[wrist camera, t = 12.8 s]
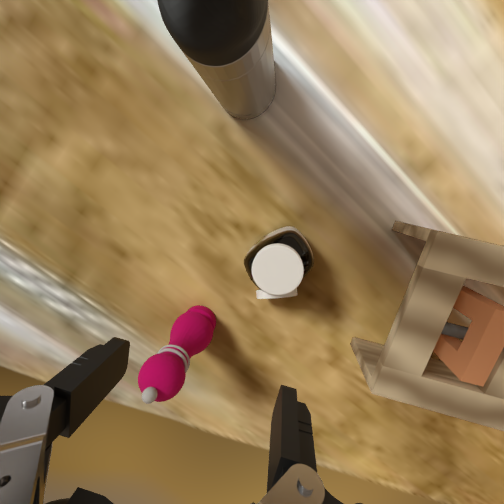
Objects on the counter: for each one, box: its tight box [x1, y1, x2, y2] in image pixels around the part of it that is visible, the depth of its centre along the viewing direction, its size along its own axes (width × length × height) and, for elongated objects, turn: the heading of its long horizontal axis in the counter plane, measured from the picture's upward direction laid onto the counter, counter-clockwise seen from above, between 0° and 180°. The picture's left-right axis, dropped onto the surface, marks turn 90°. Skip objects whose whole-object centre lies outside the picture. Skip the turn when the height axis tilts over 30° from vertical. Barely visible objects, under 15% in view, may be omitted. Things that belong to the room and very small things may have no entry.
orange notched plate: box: [433, 286, 504, 387], centre depth 34 cm, size 10×3×10 cm, turn 168°
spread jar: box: [244, 226, 314, 299], centre depth 39 cm, size 12×11×12 cm
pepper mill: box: [138, 306, 216, 403], centre depth 40 cm, size 7×7×20 cm
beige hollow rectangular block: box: [350, 221, 504, 431], centre depth 37 cm, size 23×18×12 cm
